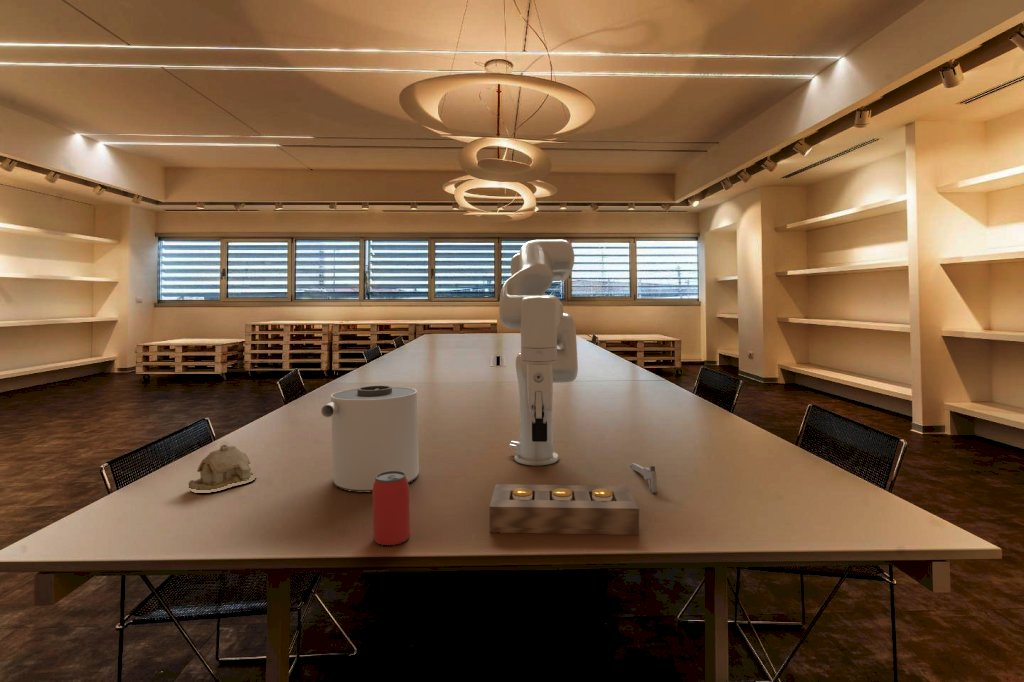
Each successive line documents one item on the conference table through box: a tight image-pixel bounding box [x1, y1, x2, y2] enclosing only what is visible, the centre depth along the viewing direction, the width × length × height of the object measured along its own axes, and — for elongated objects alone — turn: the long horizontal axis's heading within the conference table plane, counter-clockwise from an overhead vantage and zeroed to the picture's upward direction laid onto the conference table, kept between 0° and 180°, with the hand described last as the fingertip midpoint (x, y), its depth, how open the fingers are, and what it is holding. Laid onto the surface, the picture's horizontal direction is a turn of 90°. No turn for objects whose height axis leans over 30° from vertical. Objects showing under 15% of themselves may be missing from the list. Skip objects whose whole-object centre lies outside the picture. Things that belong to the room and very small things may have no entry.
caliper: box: [629, 462, 658, 494], centre depth 119 cm, size 20×1×6 cm, turn 0°
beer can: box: [371, 471, 411, 547], centre depth 88 cm, size 7×7×12 cm
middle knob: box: [552, 488, 572, 501], centre depth 95 cm, size 4×4×5 cm
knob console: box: [489, 483, 640, 536], centre depth 95 cm, size 28×12×5 cm, turn 86°
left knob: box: [513, 488, 532, 500], centre depth 96 cm, size 4×4×5 cm
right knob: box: [592, 489, 612, 501], centre depth 95 cm, size 4×4×5 cm
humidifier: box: [320, 385, 420, 491], centre depth 120 cm, size 22×21×23 cm
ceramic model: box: [188, 444, 254, 490], centre depth 118 cm, size 14×11×10 cm
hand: (539, 440), depth 101 cm, fingers closed
